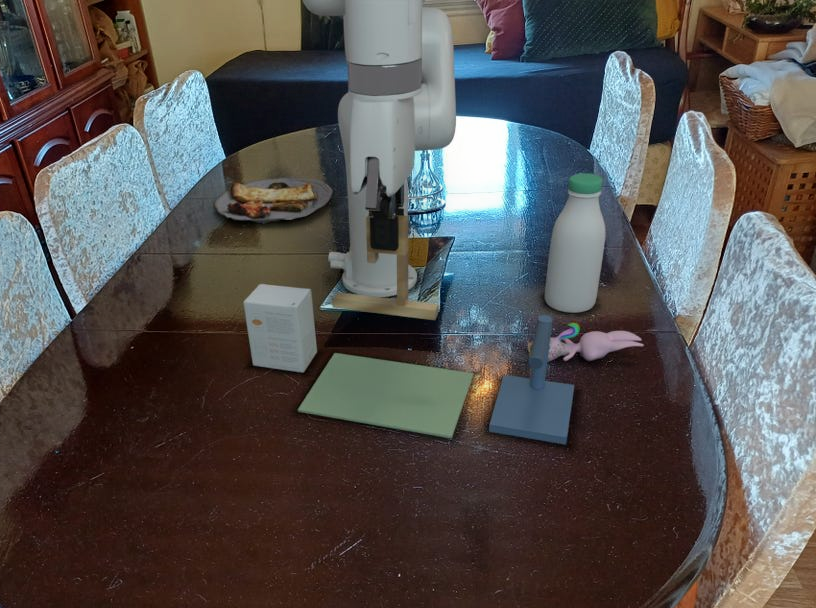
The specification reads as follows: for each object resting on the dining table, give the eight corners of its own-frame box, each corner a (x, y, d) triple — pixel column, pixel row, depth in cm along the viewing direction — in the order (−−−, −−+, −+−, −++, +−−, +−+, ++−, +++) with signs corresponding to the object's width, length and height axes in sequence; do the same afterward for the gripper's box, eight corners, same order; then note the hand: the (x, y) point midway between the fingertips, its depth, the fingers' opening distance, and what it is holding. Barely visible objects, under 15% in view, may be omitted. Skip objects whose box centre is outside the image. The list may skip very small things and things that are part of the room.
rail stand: (488, 431, 88) (494, 353, 82) (503, 381, 97) (509, 308, 90) (565, 445, 85) (578, 365, 79) (573, 392, 94) (584, 316, 88)
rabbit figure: (531, 377, 99) (647, 365, 96) (527, 340, 96) (648, 327, 93) (527, 352, 105) (637, 340, 101) (523, 317, 101) (637, 303, 98)
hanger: (332, 307, 90) (326, 214, 84) (336, 301, 92) (331, 209, 85) (435, 320, 86) (437, 223, 80) (438, 314, 88) (440, 218, 81)
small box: (318, 353, 105) (312, 288, 99) (303, 374, 101) (297, 307, 95) (267, 346, 107) (259, 282, 102) (251, 366, 103) (242, 300, 97)
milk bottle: (597, 315, 110) (618, 187, 99) (544, 312, 111) (559, 186, 100) (593, 291, 116) (611, 169, 105) (543, 289, 118) (556, 168, 107)
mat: (298, 411, 93) (297, 409, 93) (334, 355, 104) (334, 352, 104) (451, 438, 87) (451, 436, 87) (473, 375, 98) (473, 373, 98)
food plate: (202, 228, 147) (199, 212, 145) (230, 188, 166) (228, 173, 164) (324, 228, 144) (323, 211, 142) (338, 187, 163) (337, 172, 161)
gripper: (372, 61, 81) (376, 217, 91) (323, 95, 69) (334, 270, 79) (438, 62, 79) (434, 222, 89) (399, 97, 67) (400, 277, 77)
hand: (387, 243), depth 84 cm, fingers closed on hanger, 1 cm apart
